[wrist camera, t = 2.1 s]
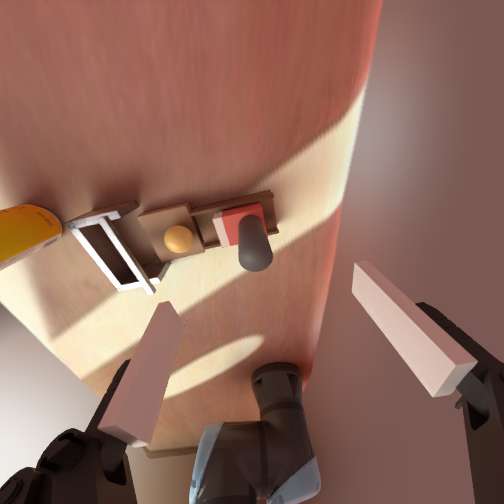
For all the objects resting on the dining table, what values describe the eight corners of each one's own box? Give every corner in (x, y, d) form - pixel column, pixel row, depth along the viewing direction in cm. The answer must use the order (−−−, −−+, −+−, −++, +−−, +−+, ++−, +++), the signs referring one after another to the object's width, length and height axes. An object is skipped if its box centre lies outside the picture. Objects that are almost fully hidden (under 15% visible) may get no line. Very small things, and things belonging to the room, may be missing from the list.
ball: (199, 242, 29) (194, 254, 26) (175, 247, 29) (167, 260, 26) (190, 218, 27) (183, 229, 24) (164, 224, 27) (154, 236, 24)
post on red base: (264, 229, 28) (278, 270, 19) (223, 238, 29) (216, 284, 19) (259, 201, 26) (272, 233, 17) (214, 212, 27) (202, 249, 17)
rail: (275, 225, 31) (279, 232, 28) (207, 240, 31) (204, 249, 29) (269, 189, 28) (273, 194, 25) (194, 207, 28) (190, 213, 26)
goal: (170, 264, 33) (154, 293, 27) (134, 272, 34) (109, 303, 27) (135, 200, 27) (103, 217, 21) (91, 210, 27) (46, 231, 21)
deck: (206, 246, 32) (204, 252, 30) (165, 255, 32) (161, 261, 30) (188, 201, 28) (185, 205, 26) (142, 212, 28) (136, 217, 26)
